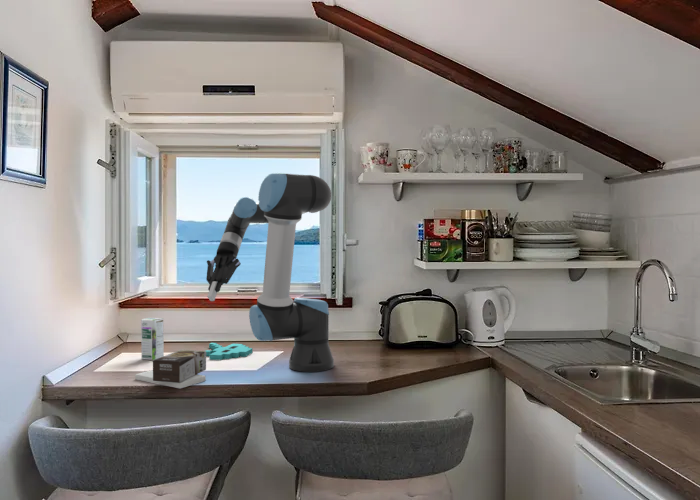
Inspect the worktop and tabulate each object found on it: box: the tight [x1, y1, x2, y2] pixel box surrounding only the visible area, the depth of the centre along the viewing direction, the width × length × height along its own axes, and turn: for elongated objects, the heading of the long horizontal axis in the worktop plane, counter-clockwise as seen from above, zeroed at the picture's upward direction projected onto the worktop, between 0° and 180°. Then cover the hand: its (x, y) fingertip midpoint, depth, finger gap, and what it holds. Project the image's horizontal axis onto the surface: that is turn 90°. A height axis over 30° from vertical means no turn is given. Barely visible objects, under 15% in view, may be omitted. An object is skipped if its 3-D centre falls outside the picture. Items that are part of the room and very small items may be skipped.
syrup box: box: [140, 317, 165, 361], centre depth 196 cm, size 6×6×14 cm
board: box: [134, 369, 207, 389], centre depth 167 cm, size 20×10×2 cm, turn 59°
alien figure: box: [205, 342, 254, 361], centre depth 204 cm, size 20×2×20 cm
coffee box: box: [152, 349, 207, 383], centre depth 166 cm, size 9×6×16 cm
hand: (210, 298), depth 186 cm, fingers closed
